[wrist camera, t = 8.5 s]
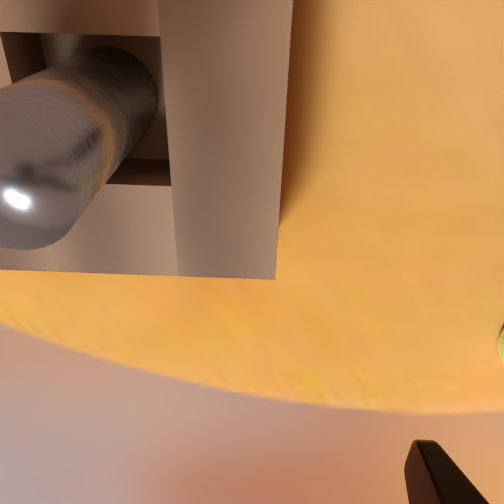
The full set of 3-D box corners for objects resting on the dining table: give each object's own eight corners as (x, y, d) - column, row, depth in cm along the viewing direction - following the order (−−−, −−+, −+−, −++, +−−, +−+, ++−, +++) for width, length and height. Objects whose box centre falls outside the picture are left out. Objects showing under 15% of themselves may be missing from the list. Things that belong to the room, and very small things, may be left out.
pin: (154, 48, 15) (64, 109, 9) (160, 140, 17) (90, 253, 10) (60, 43, 15) (-104, 101, 9) (75, 136, 17) (-51, 246, 10)
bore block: (293, -107, 14) (301, -129, 11) (273, 234, 20) (275, 279, 17) (-96, -119, 14) (-194, -142, 11) (6, 224, 20) (-39, 268, 17)
